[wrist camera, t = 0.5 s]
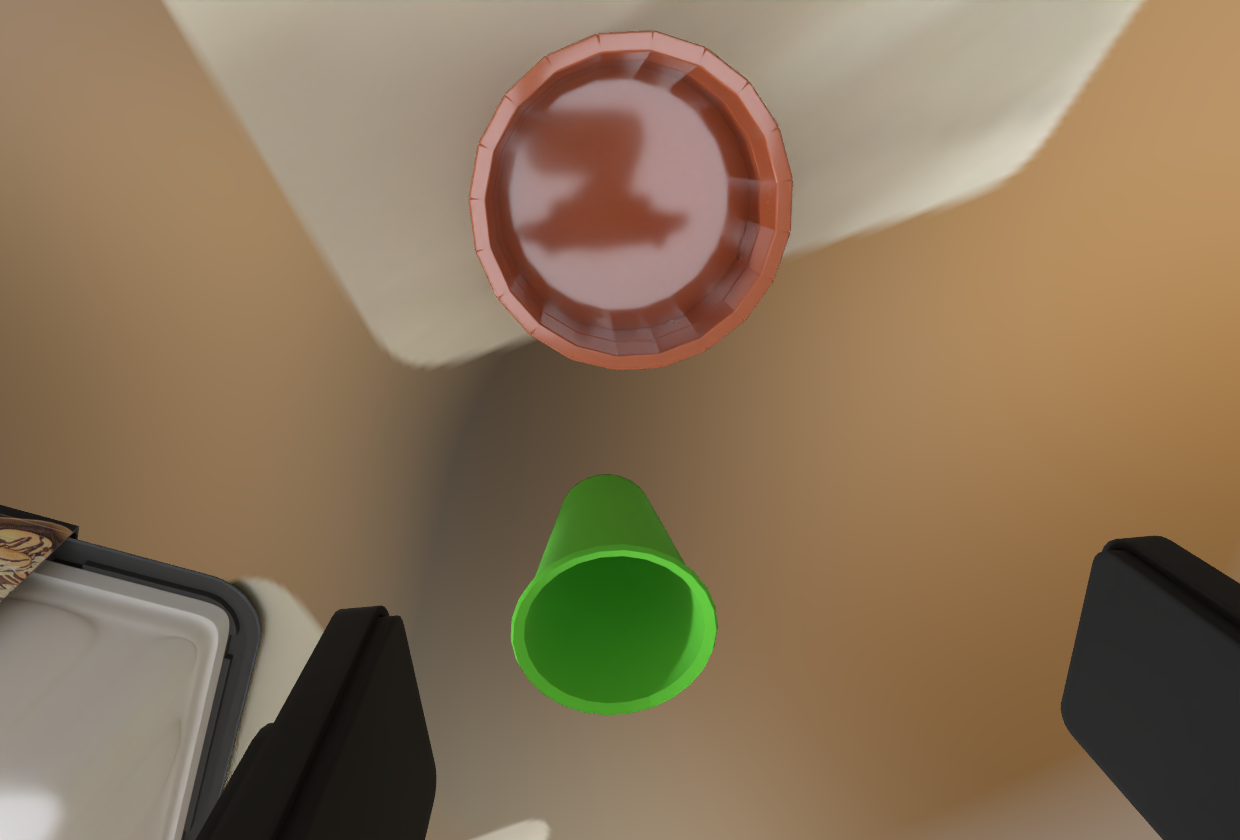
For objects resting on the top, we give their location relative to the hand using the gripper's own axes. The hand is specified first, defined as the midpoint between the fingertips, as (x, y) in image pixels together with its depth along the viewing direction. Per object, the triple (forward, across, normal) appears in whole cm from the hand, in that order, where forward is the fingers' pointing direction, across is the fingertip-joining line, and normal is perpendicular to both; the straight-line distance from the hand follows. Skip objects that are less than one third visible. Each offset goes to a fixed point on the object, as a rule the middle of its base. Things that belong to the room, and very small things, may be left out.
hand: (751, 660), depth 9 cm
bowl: (+27, 0, -4) cm, 27 cm away
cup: (+27, +2, +12) cm, 30 cm away
